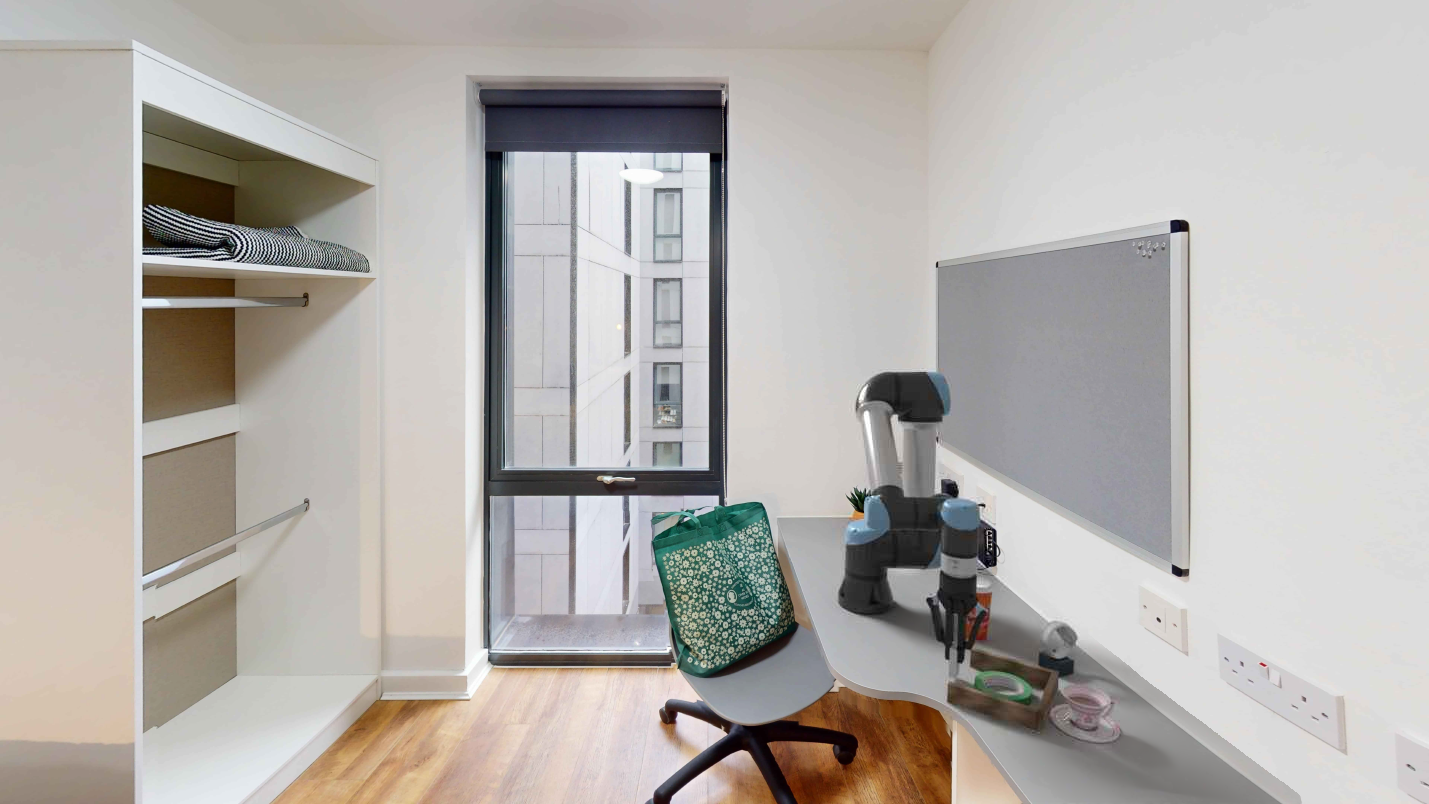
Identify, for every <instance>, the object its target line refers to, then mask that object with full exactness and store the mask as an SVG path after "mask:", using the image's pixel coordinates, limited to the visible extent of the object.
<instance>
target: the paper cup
mask: <svg viewBox="0 0 1429 804" xmlns="http://www.w3.org/2000/svg"><path fill="white" fill-rule="evenodd" d="M994 591H995V587H994V585H993V584H992V582H991V581H990V580H988V579H986V578H984V577H980V576H979V577H978V576H977V589H976V595H977V598H978V601H979V602H978V603H979V604H981V605H982V606H983V607H987V608H988V609H989V612H988V614H987V615H986V617H985V618H984V619H983V620H982V623H981V626H980V629H979V632H978V635H977V638H976V641H975V642H978V641H979V642H982V641H985V640H987V638H988V631H989V622H990V614H991V604H992V597H993V596H992V595H993V592H994ZM975 611H976V608H974V609H972V610H971V611H970V612H969V613H968V615H967V626H966V639H968V638H969V635H970V632H971V630H972V627H973V624H974V621H975V618H976V617H977V615H976V614H975Z"/></svg>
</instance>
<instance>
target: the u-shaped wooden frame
mask: <svg viewBox="0 0 1429 804" xmlns="http://www.w3.org/2000/svg"><path fill="white" fill-rule="evenodd" d="M969 657H970V658H969V660H970V661H969V667H971V668H975V669H978V670H982V671H983V672H986V671H998V672H1004V673H1008V674H1011V675H1014V676H1016V677H1019V678H1020V679H1022V680H1024V681H1025V682H1027V683H1028V684H1029V685H1032V686H1035V687H1038V688H1041V689H1044V691H1043V693H1042V695H1041V698H1040V701H1039V704H1038V706H1037V708H1035V707H1033V706H1031V705H1030V706H1027V705H1024V704H1020V703H1017V702H1014V701H1011V700H1008V699H1005V698H1001V697H998V696H995V695H992V694H989V693H985V692H982V691H979V690H976V689H974V688H972V687H969V686H966V685H964V684H963V685H962V684H959V683H956V682H954V681H948V683H947V694H946V695H947V697H946V703H948V702H949V704H951V703H952V705H954V704H955V705H956V706H957V705H959V706H958V707H960V706H961V708H964V709H966V708H967V710H970V711H973V712H976V713H978V714H982V715H985V716H987V717H990V718H994V719H998V720H1000V721H1002V720H1003V722H1006V723H1008V722H1009V724H1011V723H1012V724H1011V725H1014V724H1015V725H1014V726H1017V725H1019V726H1018V727H1020V726H1022V727H1021V728H1023V727H1025V728H1024V729H1026V728H1028V729H1027V730H1029V729H1031V730H1030V731H1032V730H1034V731H1033V732H1035V731H1036V733H1038V732H1040V733H1039V734H1041V733H1042V734H1043V731H1044V729H1045V726H1046V724H1047V723H1046V722H1047V720H1048V718H1049V716H1050V715H1049V712H1050V710H1051V709H1052V708H1053V707H1052V706H1053V704H1054V701H1055V698H1056V696H1057V692H1058V690H1059V678H1060V677H1059V672H1058V671H1054V670H1051V669H1047V668H1043V667H1040V666H1039V665H1036V664H1032V663H1029V662H1025V661H1021V660H1017V659H1014V658H1010V657H1008V656H1007V657H1006V656H1003V655H1000V654H996V653H992V652H989V651H986V650H982V649H978V648H974V647H972V649H971V650H970V655H969ZM955 705H954V706H955Z"/></svg>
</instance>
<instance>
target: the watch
mask: <svg viewBox="0 0 1429 804" xmlns="http://www.w3.org/2000/svg"><path fill="white" fill-rule="evenodd" d="M1054 632H1056V633H1057V635H1059V637H1060V638H1061V641H1063V642H1062V644H1061V647H1060V648H1059V649H1058V650H1056V649H1054V648H1052V644H1051V640H1050V639H1051V637H1052V635H1053V634H1054ZM1077 640H1078V635H1077V633H1076V632H1075V630H1074V629H1073V628H1072V626H1070V625H1069V624H1067V623H1066V622H1063V621H1061V620H1060V621H1057V620H1053V621H1050V622H1048V623H1047V624H1046V625H1045V626H1044V628H1043V630H1042V632H1041V636H1040V645H1041V648H1042V650H1043V651H1039V652H1038V665H1037V666H1040V667H1043V668H1047V669H1051V670H1054V671H1058V672H1059V678H1063V677H1066V676H1071V675H1074V670H1075V669H1074V668H1075V660H1074V659H1072V658H1071V657H1069V656H1068V655H1069V654H1070V653H1071V652H1072V650H1073V649H1074V647H1075V646H1076V643H1077Z"/></svg>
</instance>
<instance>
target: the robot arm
mask: <svg viewBox="0 0 1429 804" xmlns="http://www.w3.org/2000/svg"><path fill="white" fill-rule="evenodd" d="M951 399H952V398H951V392H950V388H949V385H948V382H947V380H946V378H945V376H944V375H943V374H941V373H940V372H935V371H934V372H933V371H926V370H925V371H895V372H893V371H883V372H881V373H877V374H875V375H874V376H872V377H871V378H869V379H868V380H867V381H866V382H865V383H864V385H863V386H862V387H861V388H860V390H859V392H858V395H857V396H856V401H855V417H856V420H857V421H858V423H859V424H861V425H860V426H861V432H862V438H863V439H862V440H863V446H864V453H865V459H866V468H867V473H868V481H869V489H870V495H871V496H866V497H865V499H864V504H863V511H864V512H863V513H864V514H863V515H864V516H863V518H860V519H857V520H854V521H851V522H850V523H849V524H848V525H847V526H846V527H845V528H846V529H845V536H844V537H845V538H844V545H845V546H844V547H845V548H844V549H845V550H844V574H843V578H842V579H841V583H840V586H839V589H838V593H837V602H838V604H839V606H841V607H842V608H844V609H846V610H847V611H850V612H853V613H857V614H864V615H878V614H879V615H881V614H883V613H884V614H885V613H887V612H890V611H891V610H892V609H893V608H894V596H893V595H894V594H893V592H892V589H891V586H890V585H891V584H890V581H889V579H888V572H889V571H888V569H900V570H901V569H907V570H921V571H922V570H923V571H924V570H936V569H939V568H940V570H939V584H938V586H939V587H938V590H937V592H936V593H934V594H931V593H930V594H929V595H928V597H926V599H925V602H926V604H927V605H928V607H929V609H930V614H931V618H932V623H933V628H934V635H935V638H936V641H937V642H938V643H942V644H943V645H944V646H945V647H944V659H945V660H947V661H948V662H949V663H948V677H949V678H952V679H957V677H958V676H959V673H960V665H962V664H963V663H964V661H965V659H966V658H965V654H966V650H967V651H971V649H972V648H974V645H975V643H976V642H977V641H976V638H977V635H978V632H979V629H980V626H981V623H982V620H983V619H984V618H985V617H986V615H987V614H988V612H989V609H988V608H987V607H983V606H982V605H981V604H979V603H978V602H979V601H978V598H977V595H976V589H977V577H978V575H977V574H978V570H979V569H978V567H979V566H978V565H979V564H978V562H979V544H980V543H979V542H980V528H981V527H980V526H981V525H980V524H981V522H982V521H981V519H982V518H981V514H980V513H981V511H980V510H981V508H980V506H979V504H978V503H977V502H976V501H972V500H969V499H967V498H959V497H957V498H954V497H953V496H952V495H950V494H948V493H944V492H939V493H936V465H937V464H936V463H937V462H936V458H937V454H936V453H937V428H938V427H939V426H940V425H942V424H943V419H944V418H943V416H944V417H945V416H947V415H949V413H950V412H951V407H952V406H951V405H952V403H951V402H952V401H951ZM894 415H895V416H897V422H898V423H899V424H900V425H901V426H902V428H903V430H902V431H903V432H902V433H903V434H902V437H903V438H902V439H903V441H902V442H903V443H902V475H901V469H900V468H901V467H900V462H899V458H898V452H897V448H896V447H897V446H896V442H895V437H894V431H893V425H892V418H893V416H894ZM939 603H940V604H941V605H942V607H943V608H944V610H945V615H944V616H945V627H944V624H943V619H942V614H941V613H942V612H941V607H940V605H939ZM892 607H893V608H892ZM974 608H976V611H975V614H976V615H977V617H976V618H975V621H974V624H973V627H972V630H971V632H970V635H969V638H966V626H967V615H968V613H969V612H970V611H971V610H972V609H974ZM955 615H957V636H956V637H957V638H956V639H957V640H956V643H954V642H955V639H954V635H955V618H956V617H955ZM944 628H945V629H944Z"/></svg>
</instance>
